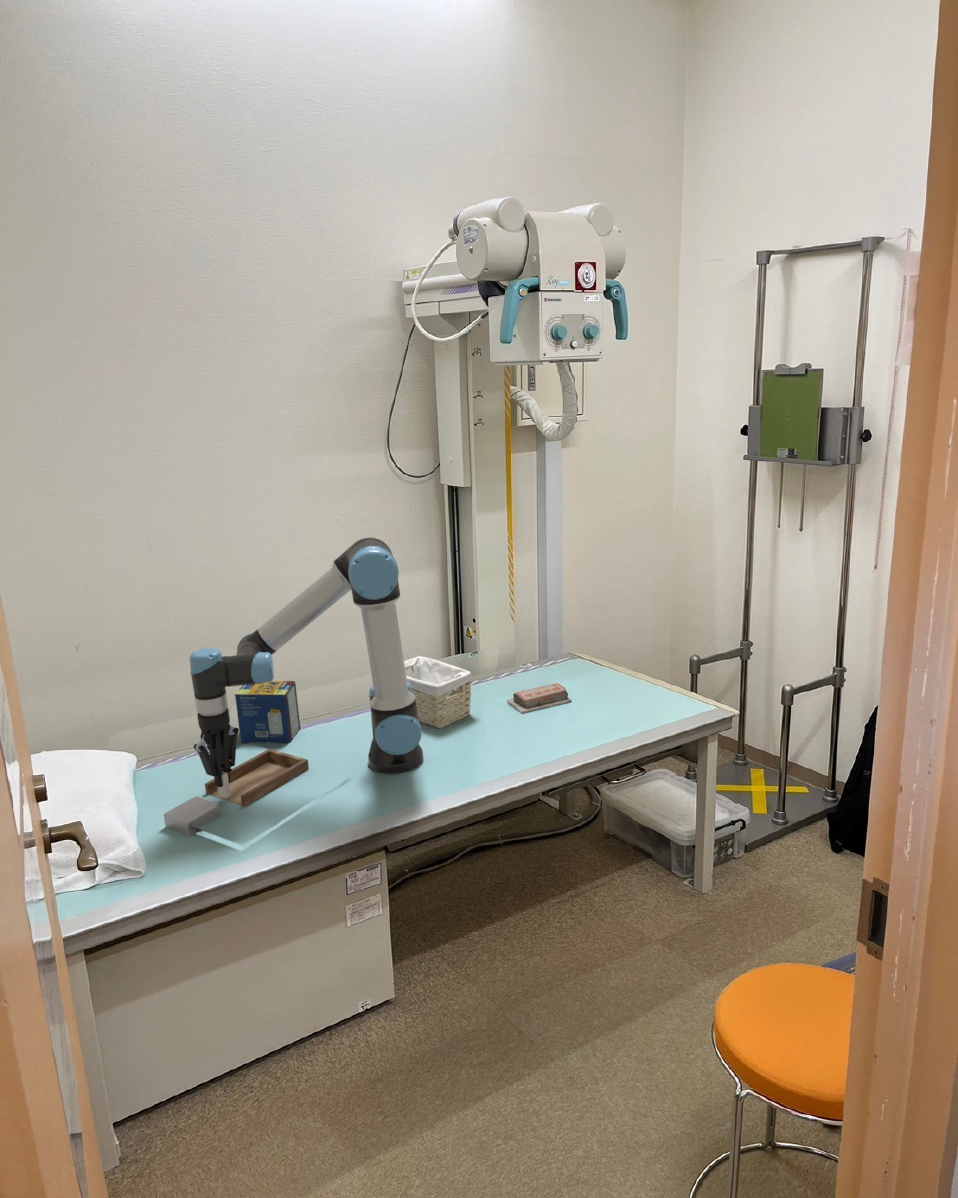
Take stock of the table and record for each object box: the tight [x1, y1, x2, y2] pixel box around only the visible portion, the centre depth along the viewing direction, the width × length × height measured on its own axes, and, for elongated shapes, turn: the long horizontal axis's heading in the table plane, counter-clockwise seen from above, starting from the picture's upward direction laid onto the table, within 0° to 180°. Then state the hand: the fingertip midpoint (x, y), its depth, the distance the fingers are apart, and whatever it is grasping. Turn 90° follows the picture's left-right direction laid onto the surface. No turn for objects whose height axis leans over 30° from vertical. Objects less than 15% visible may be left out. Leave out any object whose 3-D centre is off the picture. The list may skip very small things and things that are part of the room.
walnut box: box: [204, 748, 309, 808], centre depth 243 cm, size 14×23×4 cm, turn 147°
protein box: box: [234, 680, 301, 744], centre depth 271 cm, size 10×15×16 cm
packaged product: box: [506, 682, 572, 715], centre depth 289 cm, size 18×5×10 cm
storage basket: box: [404, 655, 473, 729], centre depth 282 cm, size 24×16×15 cm
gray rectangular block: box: [163, 795, 223, 838], centre depth 226 cm, size 9×10×4 cm
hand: (224, 795), depth 233 cm, fingers closed
